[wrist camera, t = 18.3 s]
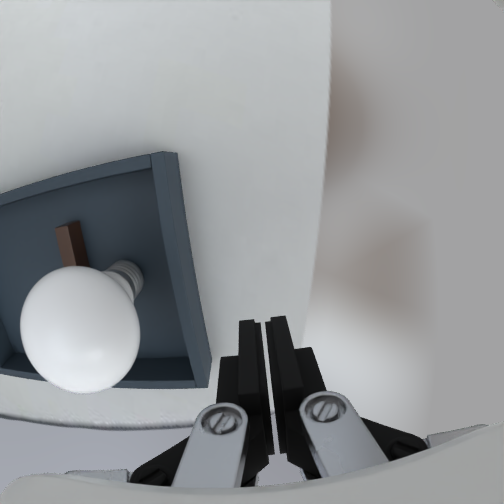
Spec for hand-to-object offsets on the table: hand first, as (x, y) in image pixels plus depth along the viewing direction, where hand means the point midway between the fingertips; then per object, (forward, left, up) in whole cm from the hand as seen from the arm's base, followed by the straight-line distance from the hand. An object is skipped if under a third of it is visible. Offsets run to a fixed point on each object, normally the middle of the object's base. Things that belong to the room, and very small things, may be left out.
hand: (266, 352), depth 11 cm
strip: (+13, 0, -11) cm, 16 cm away
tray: (+15, 0, -11) cm, 18 cm away
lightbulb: (+9, 0, -10) cm, 14 cm away
